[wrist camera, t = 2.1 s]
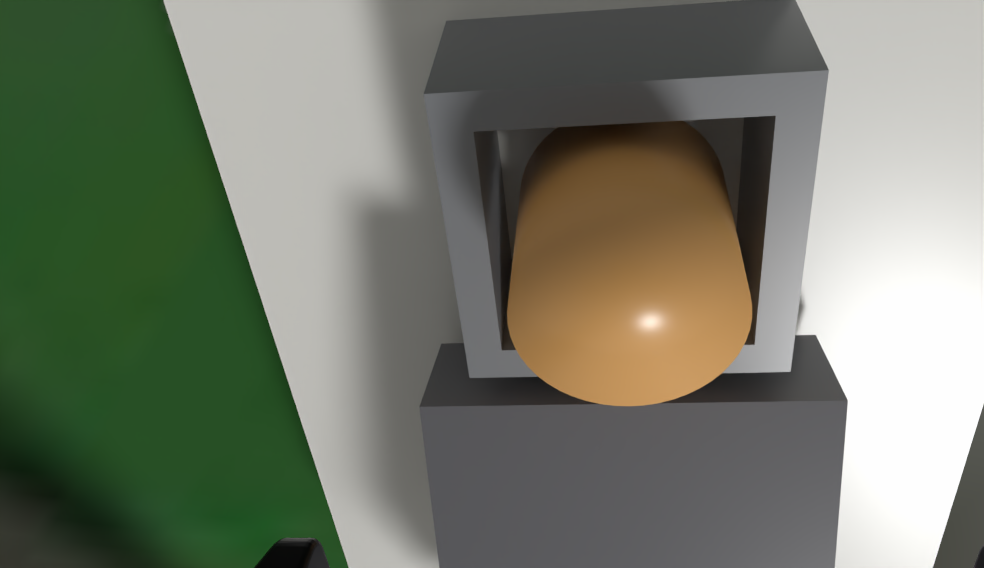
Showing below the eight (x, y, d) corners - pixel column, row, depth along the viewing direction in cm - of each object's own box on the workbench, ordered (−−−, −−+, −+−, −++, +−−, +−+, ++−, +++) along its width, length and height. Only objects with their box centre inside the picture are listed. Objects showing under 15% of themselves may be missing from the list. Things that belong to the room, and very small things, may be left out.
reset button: (720, 274, 15) (744, 404, 13) (528, 281, 16) (518, 407, 13) (730, 99, 13) (761, 214, 11) (511, 112, 14) (495, 225, 11)
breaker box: (863, 548, 27) (927, 773, 22) (402, 545, 29) (363, 753, 24) (1033, -194, 15) (1256, -73, 10) (228, -121, 17) (76, 15, 12)
